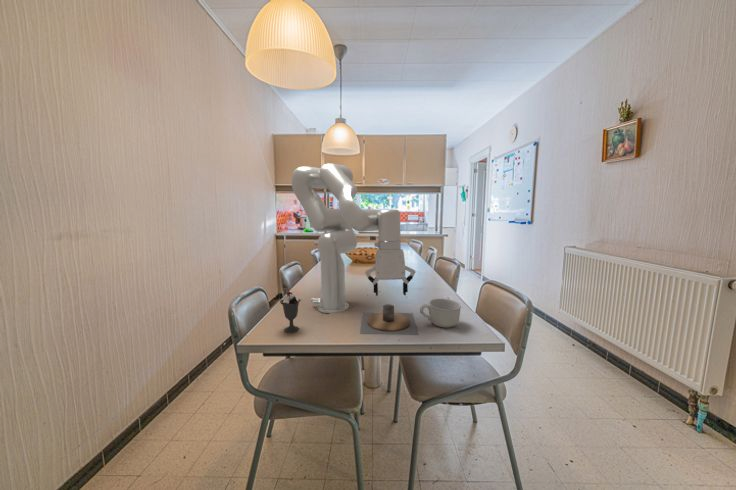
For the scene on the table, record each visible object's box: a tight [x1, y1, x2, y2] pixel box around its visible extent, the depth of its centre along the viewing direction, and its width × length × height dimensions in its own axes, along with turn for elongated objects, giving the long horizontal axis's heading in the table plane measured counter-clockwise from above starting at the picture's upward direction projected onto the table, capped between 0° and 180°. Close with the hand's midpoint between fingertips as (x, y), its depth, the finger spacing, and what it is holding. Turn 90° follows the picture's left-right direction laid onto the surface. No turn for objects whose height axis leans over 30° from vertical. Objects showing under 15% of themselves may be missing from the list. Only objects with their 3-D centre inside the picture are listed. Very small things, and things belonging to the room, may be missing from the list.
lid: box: [367, 303, 410, 332], centre depth 101 cm, size 15×15×6 cm
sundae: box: [279, 285, 302, 334], centre depth 96 cm, size 7×7×15 cm
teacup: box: [419, 297, 462, 329], centre depth 101 cm, size 14×11×8 cm
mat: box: [359, 311, 420, 336], centre depth 102 cm, size 19×19×1 cm
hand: (390, 294), depth 100 cm, fingers open, 9 cm apart
